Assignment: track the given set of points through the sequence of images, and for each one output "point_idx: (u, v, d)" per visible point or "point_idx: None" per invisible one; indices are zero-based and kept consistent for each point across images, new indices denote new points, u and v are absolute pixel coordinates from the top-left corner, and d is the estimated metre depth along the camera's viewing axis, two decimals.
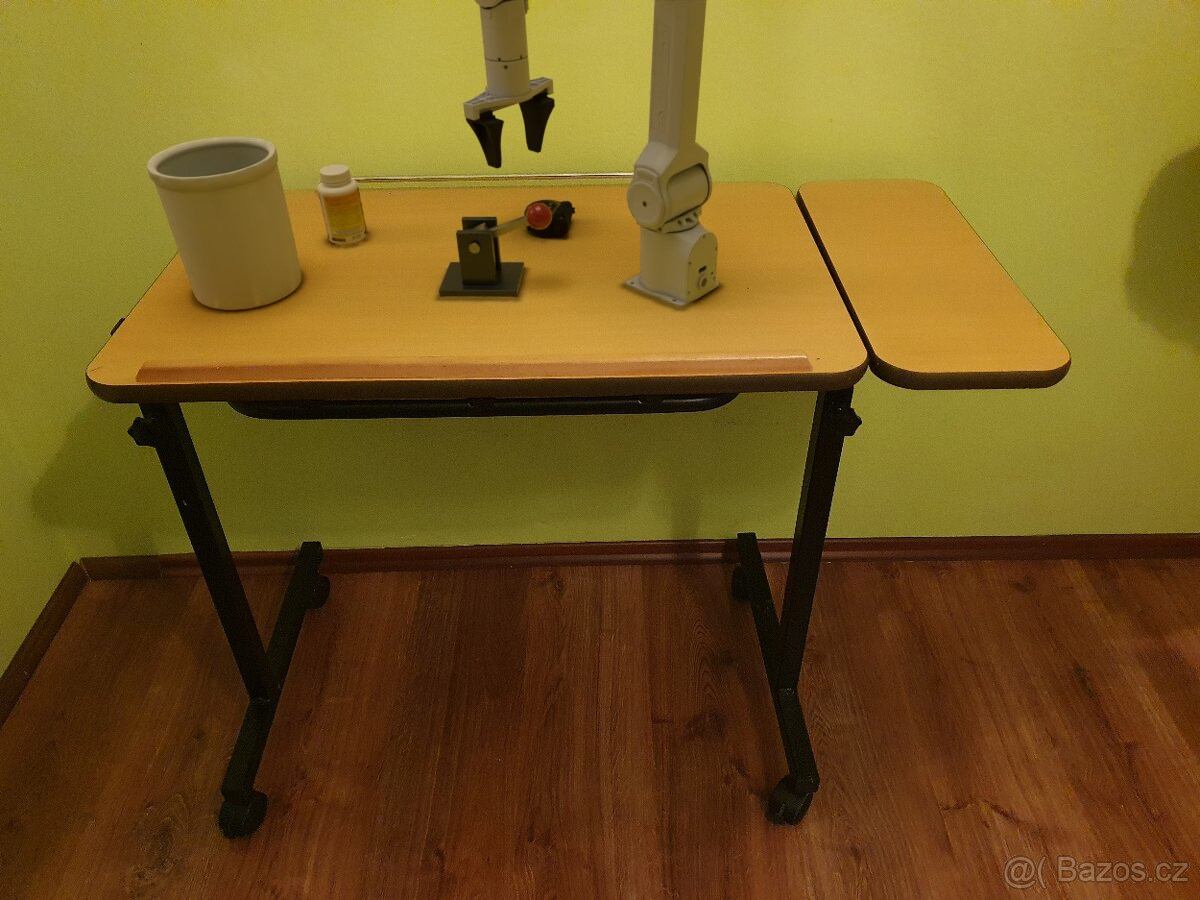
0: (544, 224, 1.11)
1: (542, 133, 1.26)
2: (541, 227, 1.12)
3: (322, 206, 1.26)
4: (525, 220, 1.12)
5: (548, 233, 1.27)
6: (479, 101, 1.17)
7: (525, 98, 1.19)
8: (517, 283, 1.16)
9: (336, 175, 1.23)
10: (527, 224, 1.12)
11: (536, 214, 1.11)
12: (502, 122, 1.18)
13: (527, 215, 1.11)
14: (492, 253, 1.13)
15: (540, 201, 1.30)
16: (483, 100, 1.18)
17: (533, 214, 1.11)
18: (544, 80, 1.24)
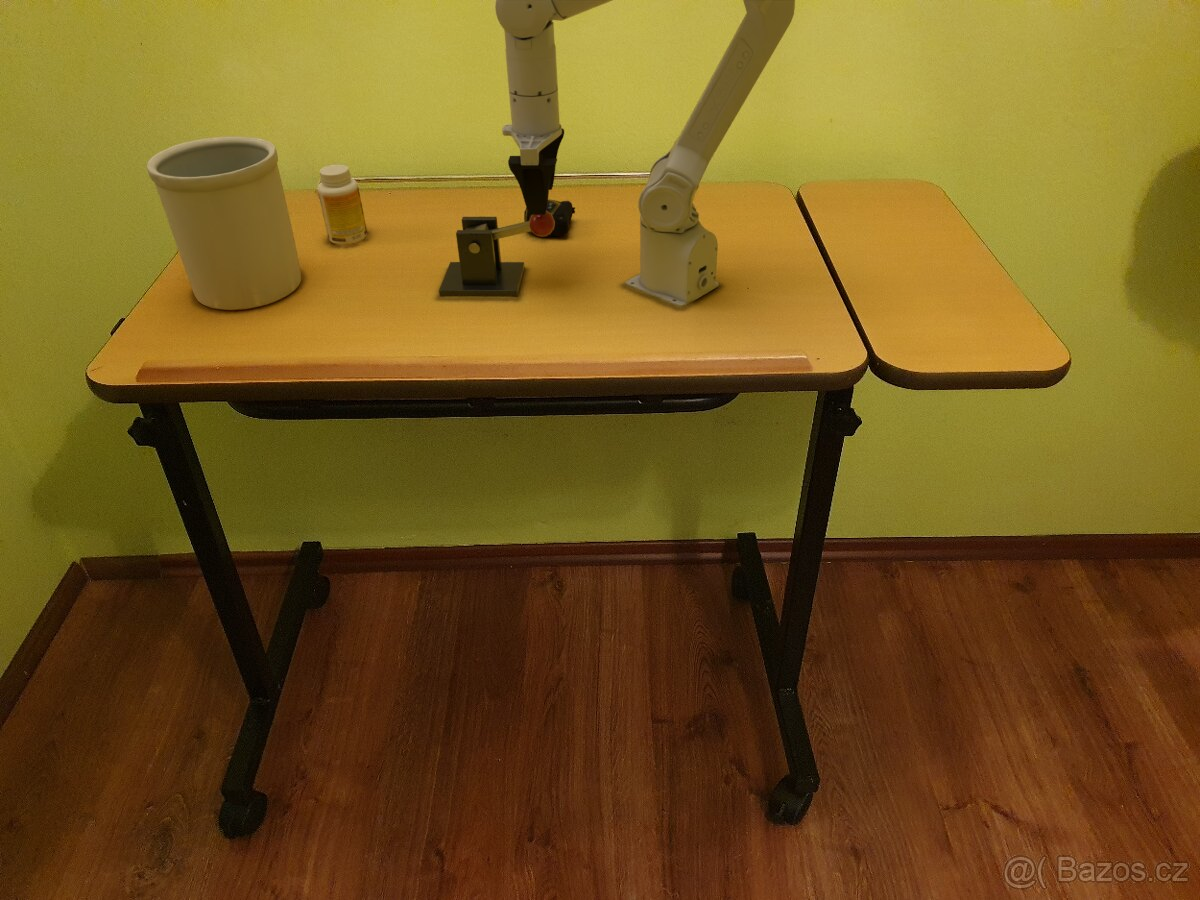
0: (546, 232, 1.12)
1: None
2: (543, 234, 1.12)
3: (322, 206, 1.26)
4: (528, 226, 1.12)
5: None
6: (531, 144, 1.03)
7: (561, 130, 1.08)
8: (517, 283, 1.16)
9: (336, 175, 1.23)
10: (529, 230, 1.13)
11: (540, 221, 1.11)
12: None
13: (530, 221, 1.12)
14: (492, 253, 1.13)
15: None
16: (533, 142, 1.04)
17: (537, 221, 1.11)
18: None
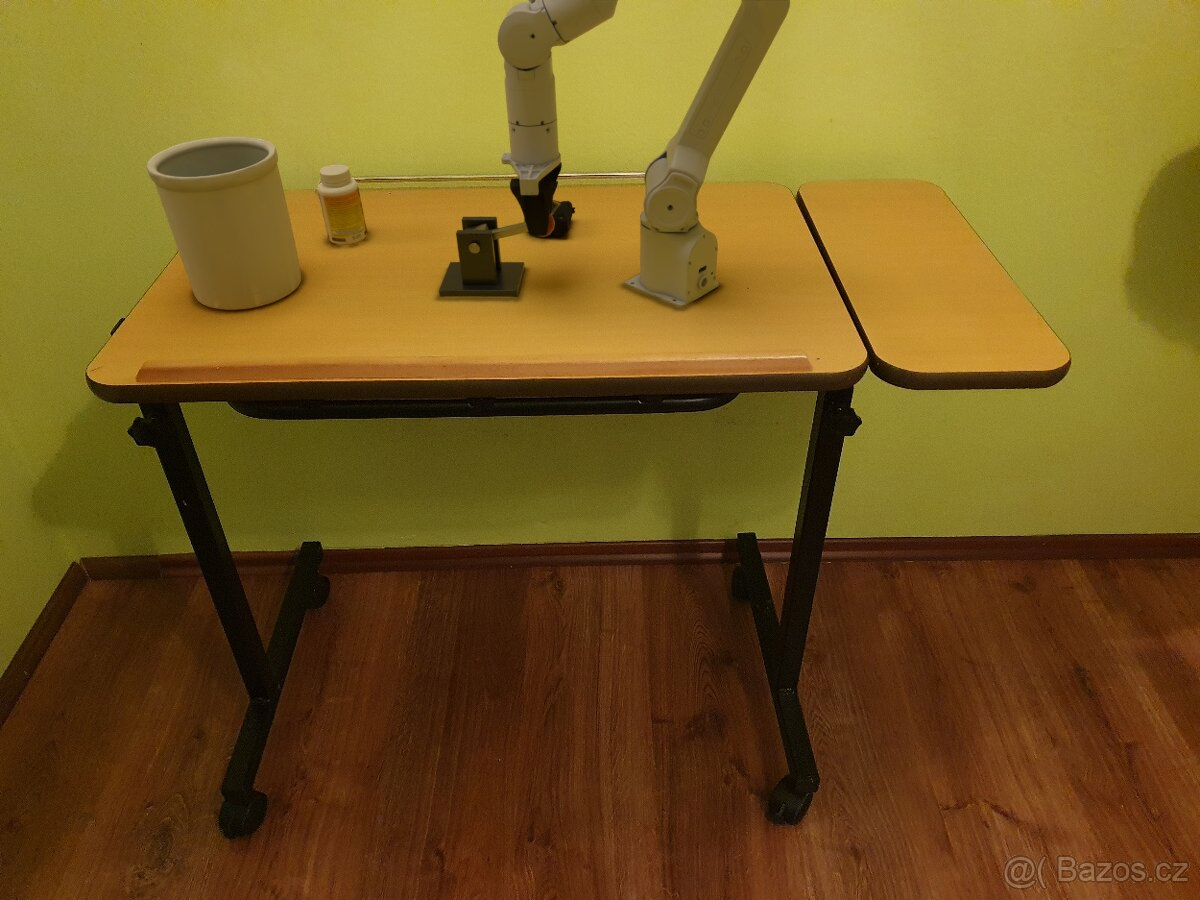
0: None
1: (552, 200, 1.13)
2: None
3: (322, 206, 1.26)
4: None
5: None
6: (531, 173, 1.03)
7: (560, 159, 1.08)
8: (517, 283, 1.16)
9: (336, 175, 1.23)
10: None
11: None
12: None
13: None
14: (492, 253, 1.13)
15: None
16: (532, 171, 1.04)
17: None
18: None
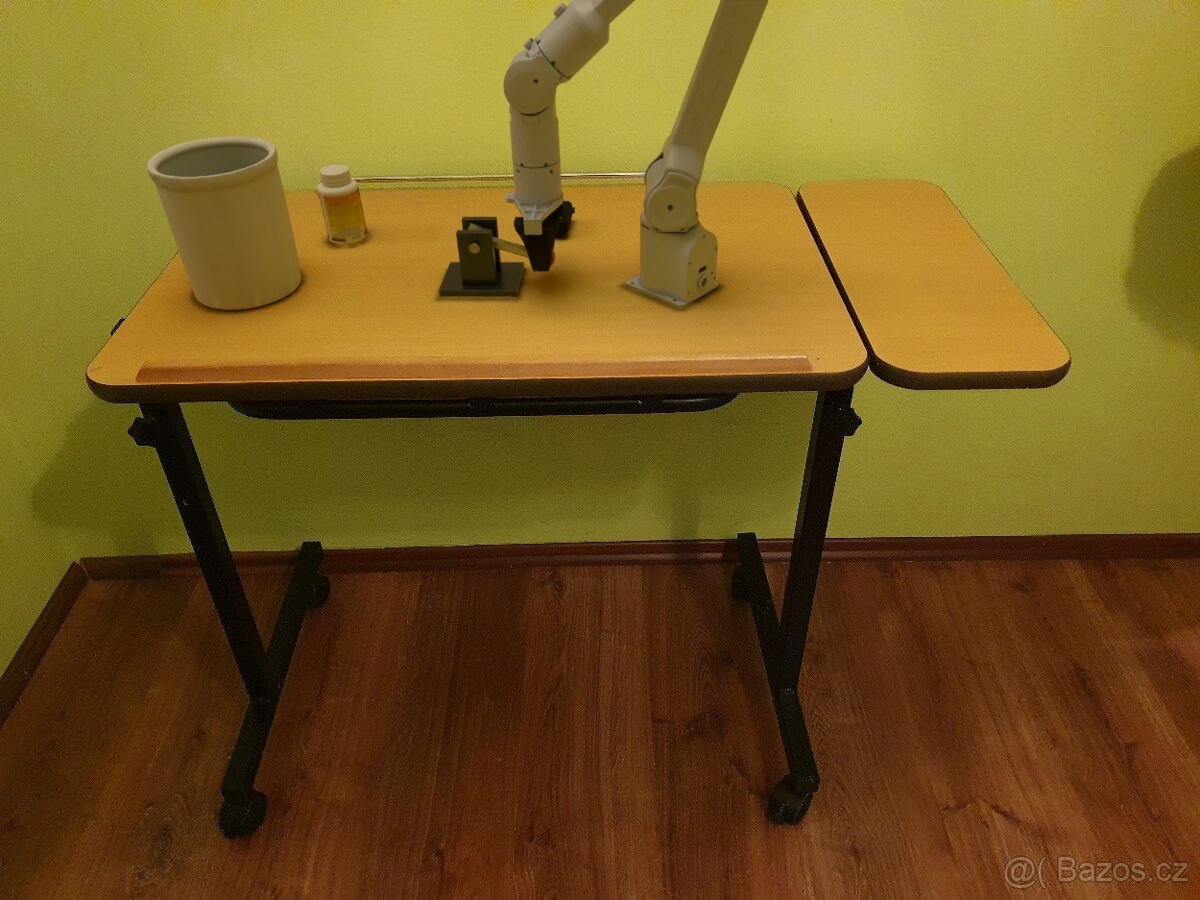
0: None
1: None
2: None
3: (322, 206, 1.26)
4: None
5: None
6: (534, 213, 1.06)
7: (563, 198, 1.11)
8: (517, 283, 1.16)
9: (336, 175, 1.23)
10: None
11: None
12: None
13: None
14: (492, 253, 1.13)
15: None
16: (536, 211, 1.07)
17: None
18: None
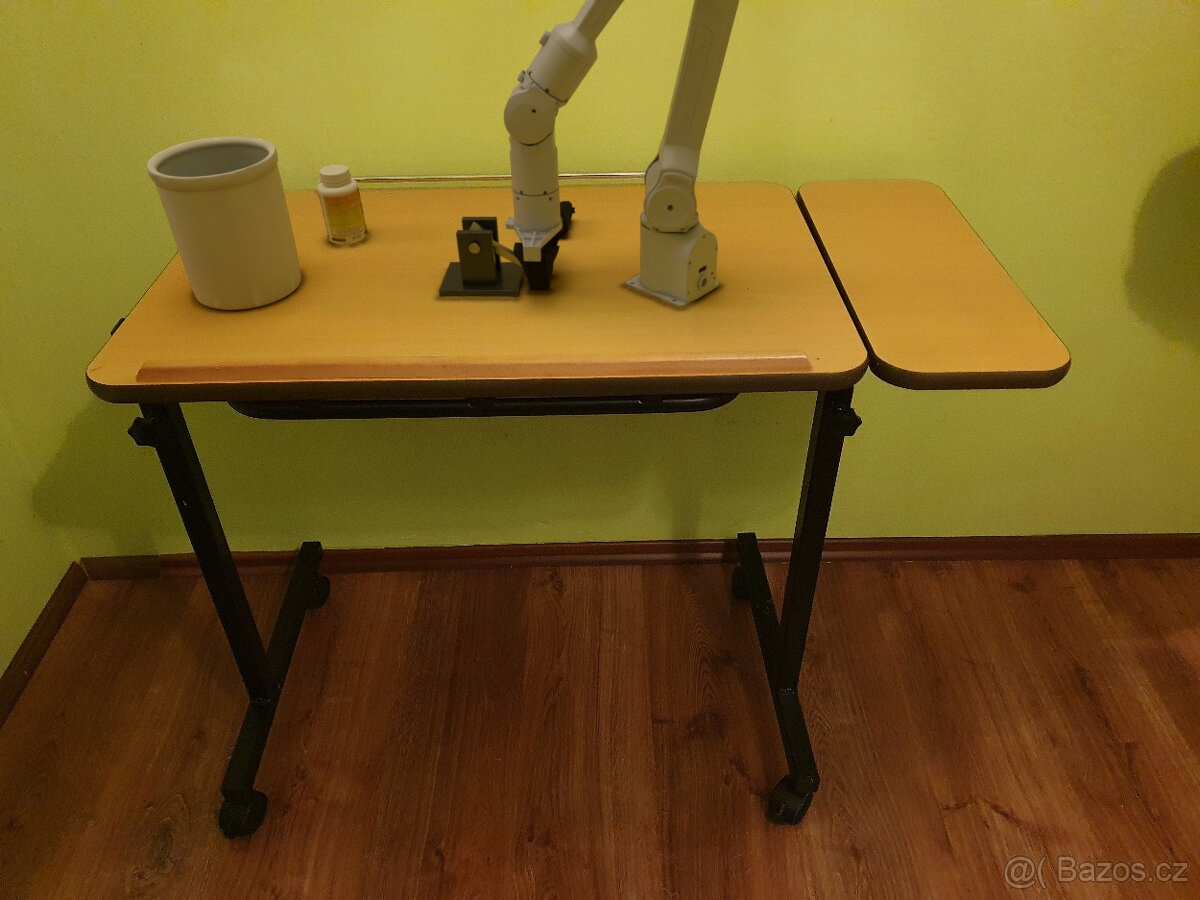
0: None
1: None
2: None
3: (322, 206, 1.26)
4: None
5: None
6: (534, 240, 1.08)
7: None
8: (517, 283, 1.16)
9: (336, 175, 1.23)
10: None
11: None
12: None
13: None
14: (492, 253, 1.13)
15: None
16: (535, 238, 1.09)
17: None
18: None
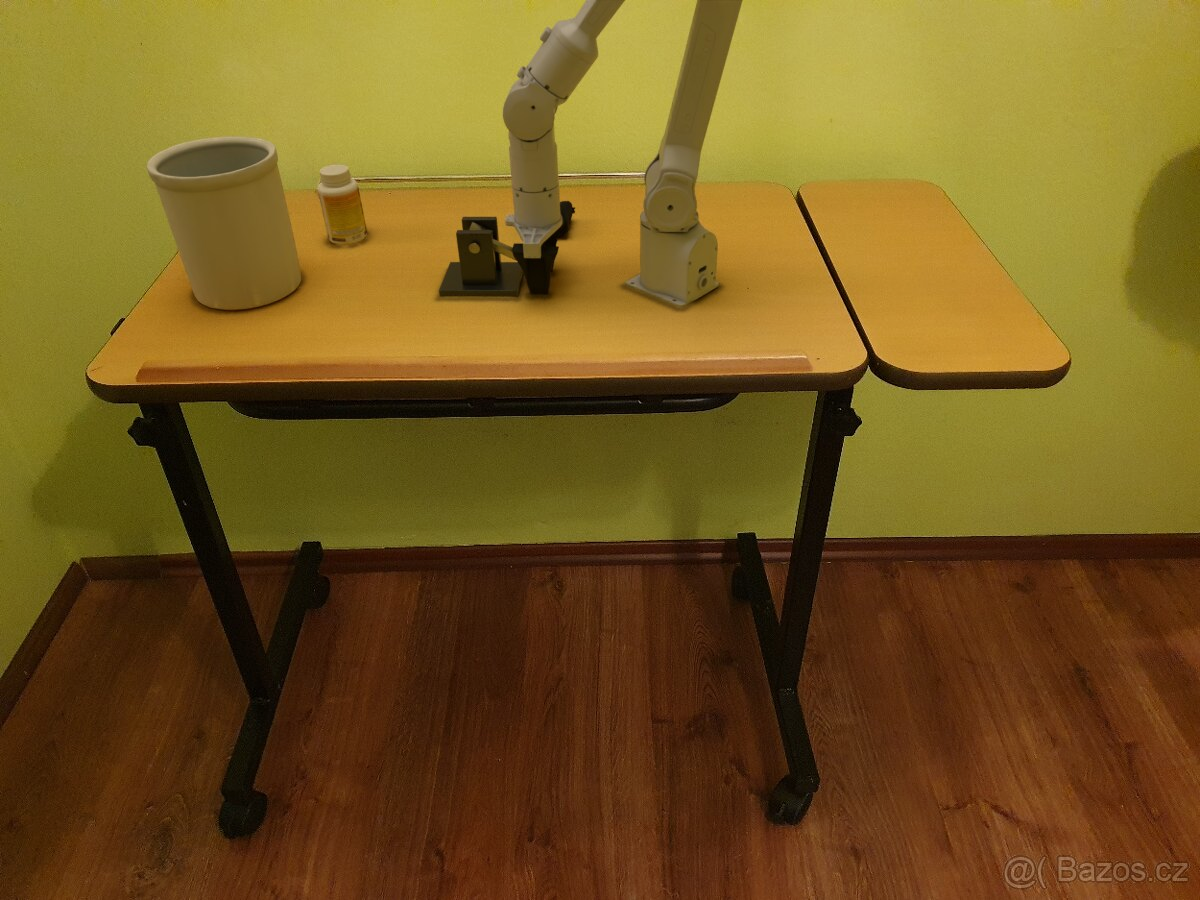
0: None
1: None
2: None
3: (322, 206, 1.26)
4: None
5: None
6: (534, 237, 1.08)
7: (562, 221, 1.12)
8: (517, 283, 1.16)
9: (336, 175, 1.23)
10: None
11: None
12: (558, 248, 1.11)
13: None
14: (492, 253, 1.13)
15: None
16: (535, 235, 1.09)
17: None
18: None
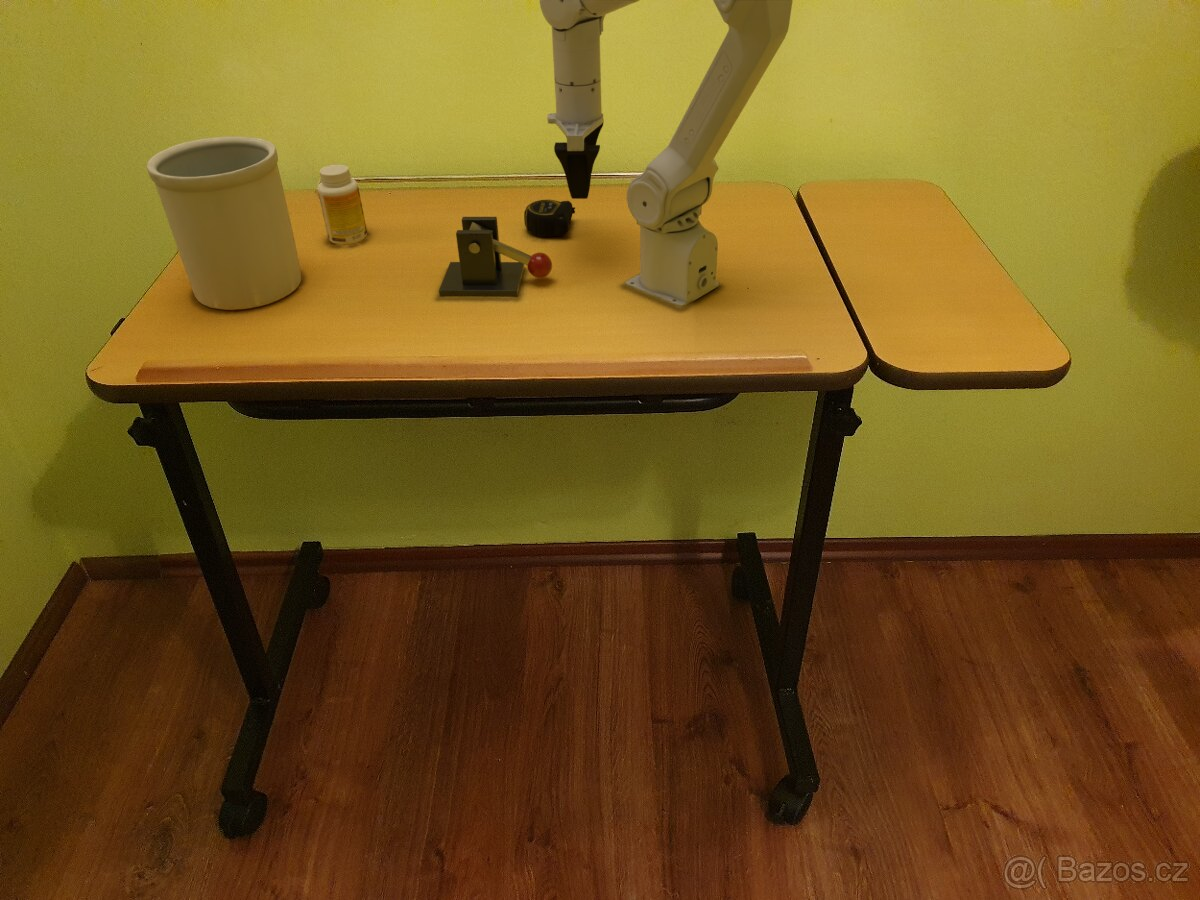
0: (540, 276, 1.16)
1: None
2: (535, 276, 1.16)
3: (322, 206, 1.26)
4: (528, 260, 1.15)
5: (548, 233, 1.27)
6: (577, 131, 1.10)
7: (603, 119, 1.14)
8: (517, 283, 1.16)
9: (336, 175, 1.23)
10: (526, 263, 1.16)
11: (542, 265, 1.15)
12: None
13: (533, 258, 1.15)
14: (492, 253, 1.13)
15: (540, 201, 1.30)
16: (578, 129, 1.10)
17: (539, 263, 1.15)
18: None
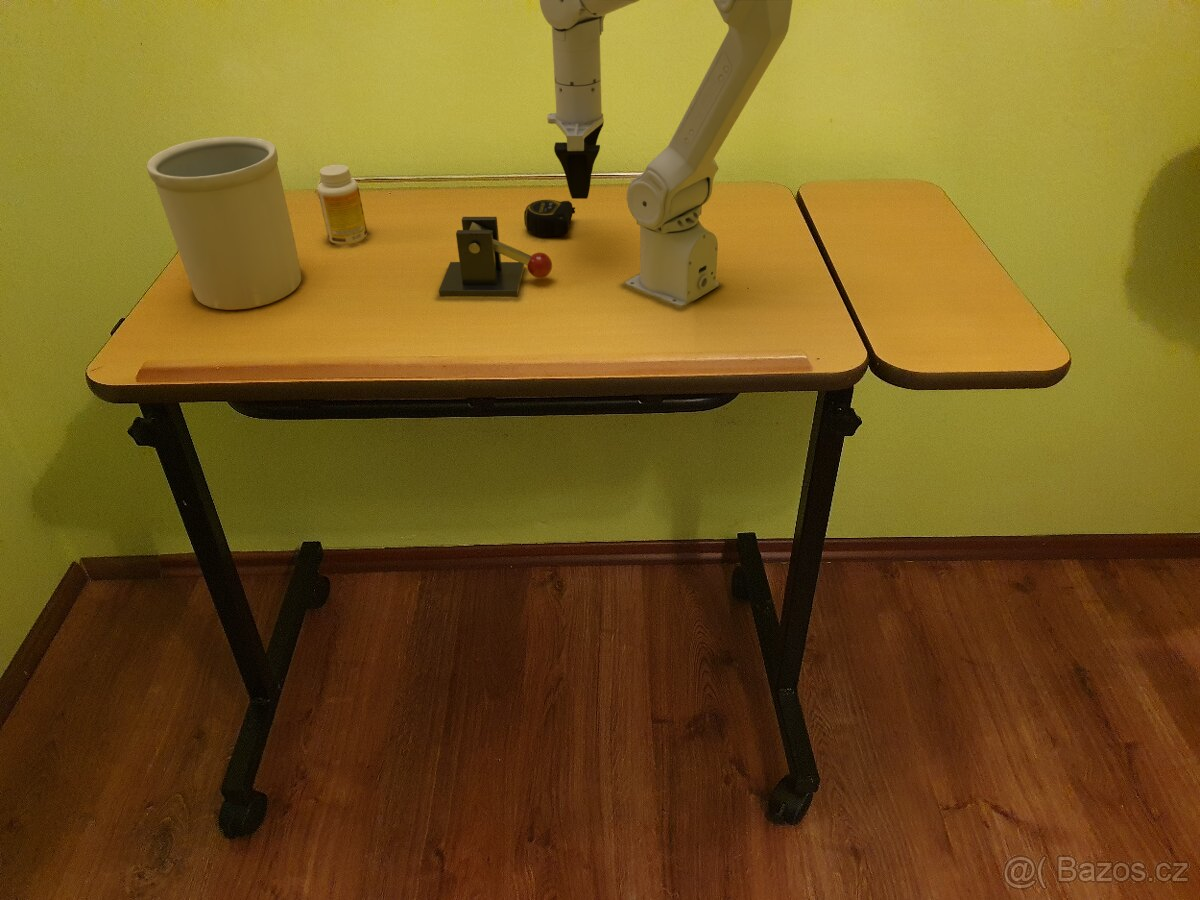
0: (540, 276, 1.16)
1: None
2: (535, 276, 1.16)
3: (322, 206, 1.26)
4: (528, 260, 1.15)
5: (548, 233, 1.27)
6: (577, 131, 1.10)
7: (603, 119, 1.14)
8: (517, 283, 1.16)
9: (336, 175, 1.23)
10: (526, 263, 1.16)
11: (542, 265, 1.15)
12: None
13: (533, 258, 1.15)
14: (492, 253, 1.13)
15: (540, 201, 1.30)
16: (578, 129, 1.10)
17: (539, 263, 1.15)
18: None
